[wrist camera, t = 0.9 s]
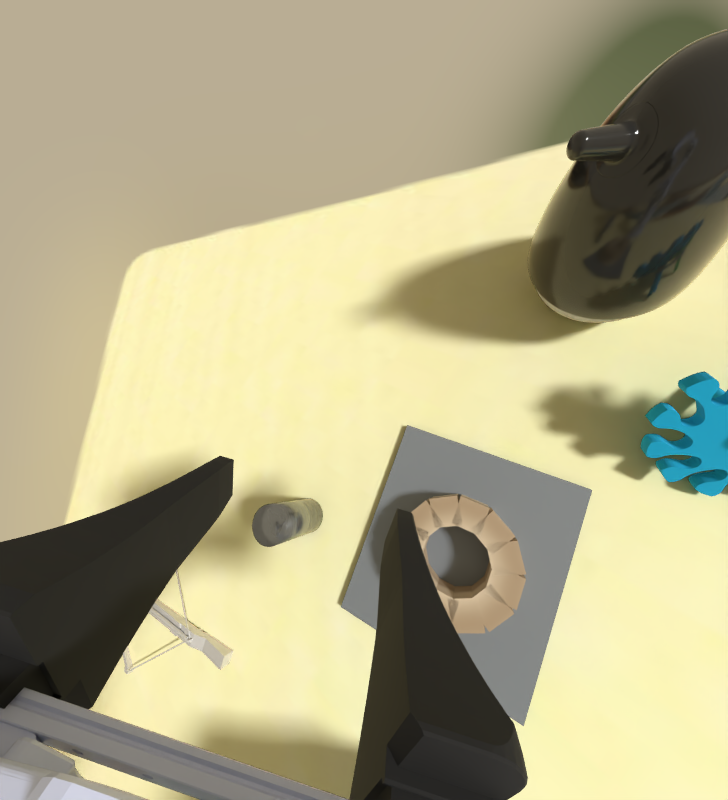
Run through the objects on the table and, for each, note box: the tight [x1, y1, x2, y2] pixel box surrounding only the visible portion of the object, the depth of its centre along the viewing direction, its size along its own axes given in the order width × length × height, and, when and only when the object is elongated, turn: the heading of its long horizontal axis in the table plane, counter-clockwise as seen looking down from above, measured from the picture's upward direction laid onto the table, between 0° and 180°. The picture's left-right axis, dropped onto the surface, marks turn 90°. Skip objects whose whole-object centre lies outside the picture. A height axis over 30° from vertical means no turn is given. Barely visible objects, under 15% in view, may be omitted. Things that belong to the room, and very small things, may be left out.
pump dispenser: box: [528, 29, 728, 323], centre depth 18 cm, size 10×10×15 cm
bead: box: [412, 494, 526, 633], centre depth 22 cm, size 8×8×2 cm
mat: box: [341, 425, 592, 726], centre depth 23 cm, size 16×14×1 cm
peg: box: [252, 499, 323, 547], centre depth 26 cm, size 3×3×6 cm
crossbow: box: [123, 570, 233, 674], centre depth 30 cm, size 16×13×2 cm
